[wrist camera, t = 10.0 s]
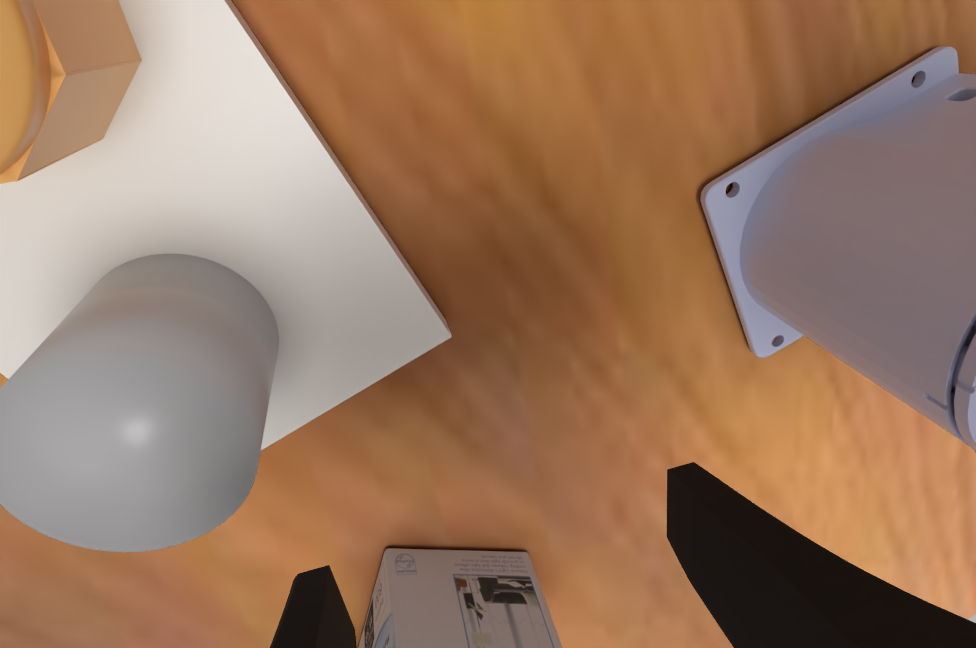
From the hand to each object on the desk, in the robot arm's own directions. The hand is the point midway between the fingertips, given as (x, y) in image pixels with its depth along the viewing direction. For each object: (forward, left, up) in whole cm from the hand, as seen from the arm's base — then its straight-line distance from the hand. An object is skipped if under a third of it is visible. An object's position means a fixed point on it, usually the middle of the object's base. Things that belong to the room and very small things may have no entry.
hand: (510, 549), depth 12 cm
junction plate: (+5, -9, -9) cm, 14 cm away
